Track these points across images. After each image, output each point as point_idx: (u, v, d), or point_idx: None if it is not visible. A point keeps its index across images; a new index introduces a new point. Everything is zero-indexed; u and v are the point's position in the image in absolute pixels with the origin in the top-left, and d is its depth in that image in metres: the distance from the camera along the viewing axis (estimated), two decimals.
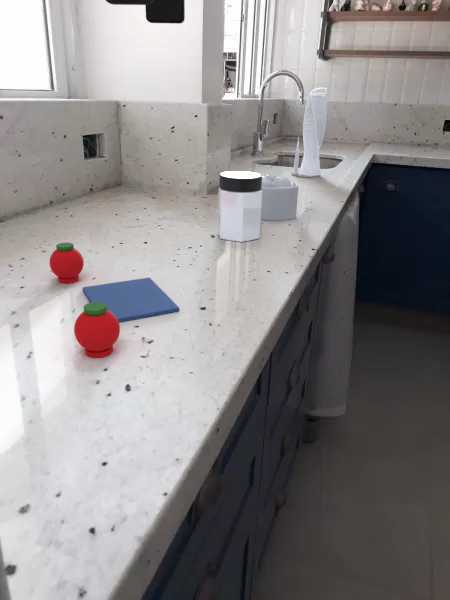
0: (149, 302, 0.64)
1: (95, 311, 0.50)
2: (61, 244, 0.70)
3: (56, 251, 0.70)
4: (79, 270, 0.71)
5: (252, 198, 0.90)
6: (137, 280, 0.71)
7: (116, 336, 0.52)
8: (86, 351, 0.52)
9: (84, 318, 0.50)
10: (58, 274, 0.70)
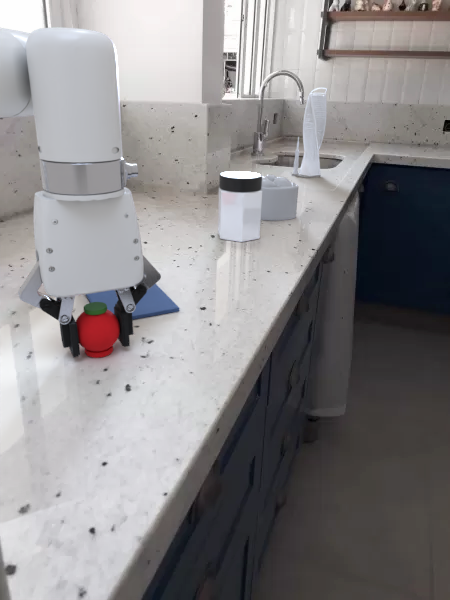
0: (149, 302, 0.64)
1: (95, 311, 0.50)
2: None
3: None
4: None
5: (252, 198, 0.90)
6: None
7: (116, 336, 0.52)
8: (86, 351, 0.52)
9: (84, 318, 0.50)
10: None
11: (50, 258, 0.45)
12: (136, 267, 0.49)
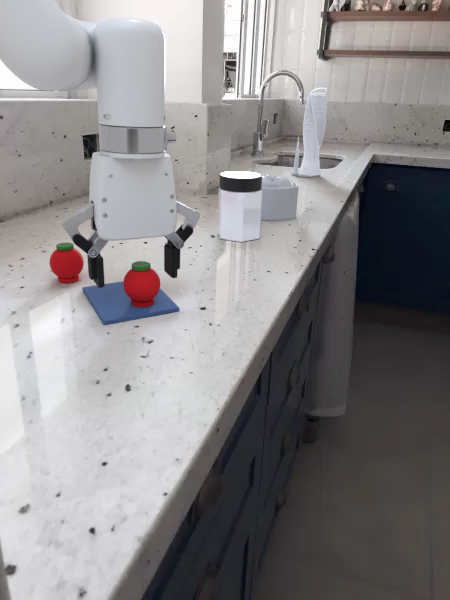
0: None
1: (141, 267, 0.61)
2: (61, 244, 0.70)
3: (56, 251, 0.70)
4: (79, 270, 0.71)
5: (252, 198, 0.90)
6: None
7: (158, 289, 0.63)
8: (132, 302, 0.63)
9: (132, 274, 0.61)
10: (58, 274, 0.70)
11: (104, 206, 0.55)
12: (171, 219, 0.60)
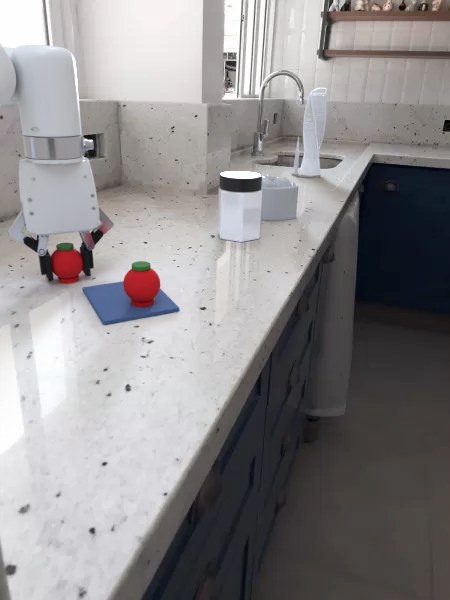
0: None
1: (141, 267, 0.61)
2: (61, 244, 0.70)
3: (56, 251, 0.70)
4: (79, 270, 0.71)
5: (252, 198, 0.90)
6: None
7: (158, 289, 0.63)
8: (132, 302, 0.63)
9: (132, 274, 0.61)
10: (58, 274, 0.70)
11: (30, 205, 0.64)
12: (93, 215, 0.68)
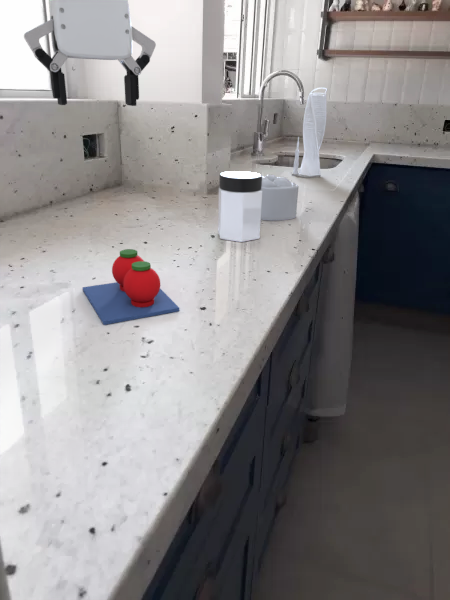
0: None
1: (141, 267, 0.61)
2: (124, 251, 0.67)
3: (120, 258, 0.66)
4: None
5: (252, 198, 0.90)
6: None
7: (158, 289, 0.63)
8: (132, 302, 0.63)
9: (132, 274, 0.61)
10: (122, 283, 0.66)
11: (62, 17, 0.60)
12: (127, 40, 0.65)
